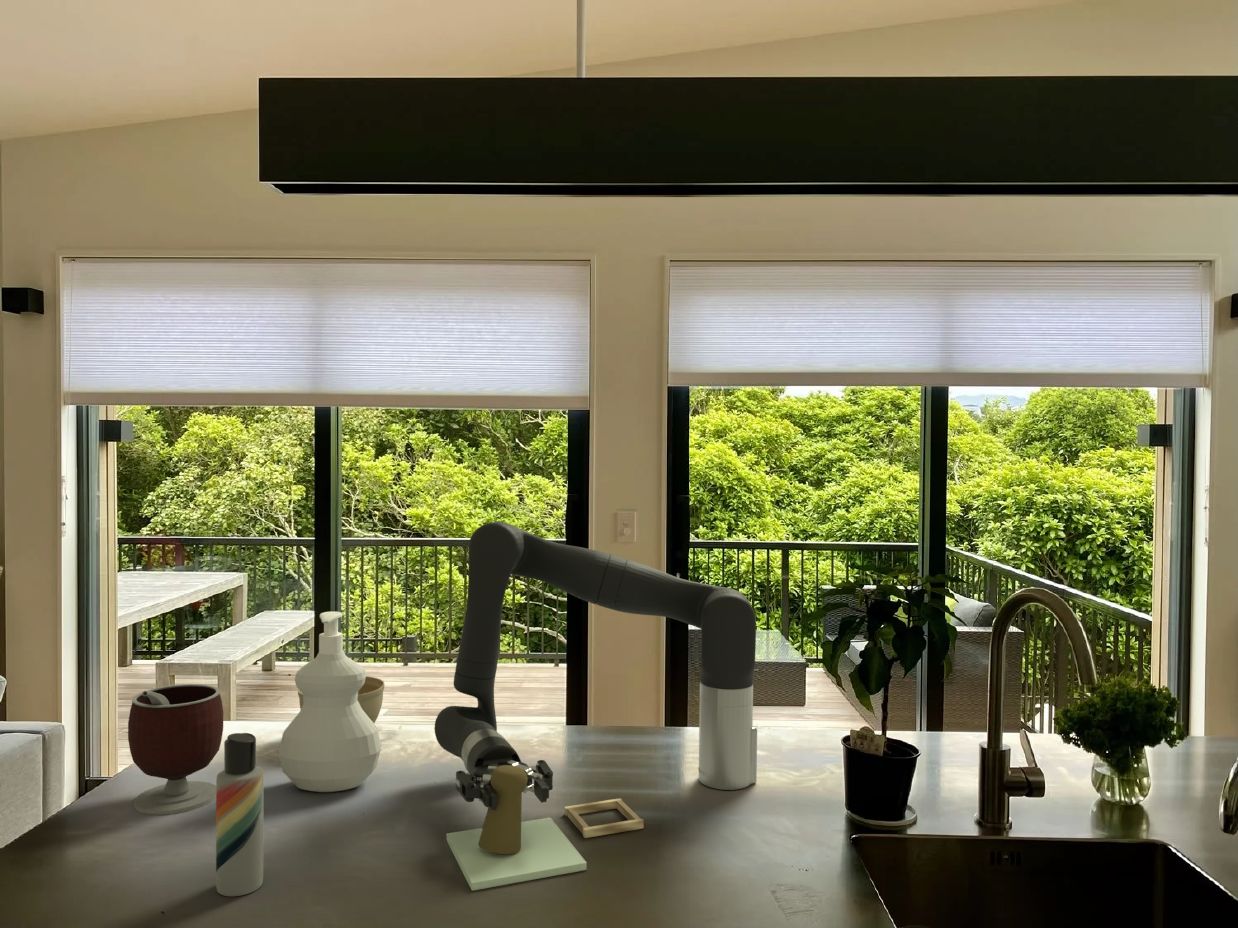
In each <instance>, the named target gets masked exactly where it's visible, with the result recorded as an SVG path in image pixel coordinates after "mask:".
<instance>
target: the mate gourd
mask: <svg viewBox="0 0 1238 928" xmlns="http://www.w3.org/2000/svg"><path fill="white" fill-rule="evenodd" d="M220 690H221V689H220V688H219V687H217V686H215V685H210V684H199V683H195V684H194V683H187V684H186V683H185V684H172V685H167V686H160V687H156V688H151V689H147V690H144V691H141V692H139V693H137V694H136V695H134V696H133V697H132V698H131V702H132V703H131V706H130V710H129V716H128V720H127V721H128V723H127V740H128V745H129V751H130V755H131V758H132V761H133V763H134V764H135V766H137V768H138V769H140V771H141V772H142V773H143V774H145V775H147V776H149V777H155V778H161V779H164V780H166V783H165V784H161V785H158V786H155V787H152V788H149V789H147V790H144V791H143V792H141V793H140V794H138V795H137V796H136V797H135V798H134V800H133V807H134V810H136V811H137V812H139V813H141V814H145V815H146V814H147V815H153V816H154V815H157V816H158V815H159V816H160V815H172V814H173V815H174V814H179V813H184V812H189V811H193V810H197V809H200V808H202V807H204V806H207V805H208V804H211V803H212V802H214V801H215V799H216V784H214V783H211V782H207V781H200V780H189V781H188V779H187V777H188V776H190V775H192V774H194V773H198V772H199V771H201V770H203V769H205V768H206V767H208V766H209V765H210V763H211V762H212V761H213V759H214V758H215V756H216V755H217V754H218V752H219V751H220V748H221V743H222V740H223V735H224V734H223V732H224V708H223V702H222V698H221V691H220Z"/></svg>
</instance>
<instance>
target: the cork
mask: <svg viewBox="0 0 1238 928" xmlns="http://www.w3.org/2000/svg"><path fill="white" fill-rule="evenodd" d="M527 780H528V779H527V774H526V772H525V770H523V769H522V768H520V767H516V766H511V765H502V766H499V767H496V768H495V769H494V771H493V772H492V775H491V786H492V788H493V790H494V792H495V793H496V796H497V809H496V810H491V809H490V808H489V807H487V810H486V814H485V817H484V822H483V826H482V828H483V829H482V832H481V836H480V839H479V843H478V845H479V847H480V848H482V849H483V850H485V851H488V852H492V853H497V854H512V853H516V852H518V851H520V849H521V822H522V805H523V804H522V803H523V802H522V799H523V798H522V794H523V791H524V790H525V787H526V785H527Z"/></svg>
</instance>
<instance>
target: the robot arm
mask: <svg viewBox="0 0 1238 928" xmlns="http://www.w3.org/2000/svg"><path fill="white" fill-rule="evenodd" d="M468 542H469V543H468V583H467V585H468V586H467V599H466V608H465V615H464V621H463V625H462V632H461V637H460V642H459V646H458V652H457V653H458V654H457V658H456V664H455V671H454V676H453V688H454V689H455V690H456V691H457V692H459V693H461V694H464V695H467V696H470V697H473V698H475V699H476V700H477V707H475V706H463V705H450V706H447V707H445V708H443V709H441V711H440V712H439V713H438V714H437V716H436V719H435V722H434V735H435V738H436V741H437V742H438V744H439V746H440V747H441V748H442V749H443V750H444V751H446V752H448V753H450V754H451V755H454V756H455V757H457V758H460V759H461V760H462V762H463V766H464V768H465V770H466V771H467V773H466V771H464V770H457V771H456V772H455V779H456V780H455V790H456V791H457V792H458V793H459V795H460V796H461V797H462V798H463V800H464V801H465V802H467V803H473V802H474V801H475V799H478V801H479V802H481V803H482V804H483V806H484V807H486V808H488V807H489V808H490V809H491V810H496V809H497V796H496V793H495V792H494V790H493V788H492V786H491V775H492V772H493V771H494V769H495V768H496V767H499V766H502V765H511V766H516V767H520V768H522V769H523V770H525V772H526V774H527V779H528V780H527V785H526V787H525V790H524V791H523V792H522V794H527V793H528V792H531V793H534V796H536V798H537V799H538V800H539V802H540V803H547V800H548V799H550V791H552V790H554V788H553V787H554V786H553V784H554V783H553V781H554V779H553V777H554V772H553V771H552V769H551V767H550V766H549V764H548V763H547V762H546V760H544V759H543V760H542V759H539V760H537V762H536V764H535V765H528V764H527V763H525V762H522V760H521V757H520V756H519V753H518V752H517V751H516V750H515V749H514V747H513V746H512V745H511V744H510V743H509V742H508V740H507V739H506V738H505V737H504V736H503V735H502V734H501V733H499V732H498V725H497V724H498V723H497V717H496V716H497V714H496V706H495V682H496V675H497V670H498V669H497V667H498V663H499V657H500V649H501V648H500V647H501V634H502V632H501V631H502V629H501V628H502V612H503V606H504V600H505V595H506V591H507V590H506V589H507V587H508V584H509V581H510V577H511V575H514V576H518V577H523V578H528V579H532V580H537V581H540V582H543V583H545V584H546V583H547V584H549V585H550V586H553V587H555V588H556V589H559V590H561V591H563V592H565V593H567V594H569V595H571V596H574V597H575V598H577V599H580V600H582V601H585V602H588V603H591V604H593V605H596V606H599V607H603V608H606V609H609V610H613V611H616V612H621V613H624V614H632V615H642V616H643V615H644V616H651V617H652V616H654V617H655V616H656V617H663V618H664V617H665V618H669V619H673V620H676V621H679V622H683V623H685V624H687V625H690V626H693V627H695V628H698V629H699V630H701V641H700V645H701V646H700V666H699V667H700V668H699V718H698V721H699V723H698V724H699V725H698V726H699V727H698V728H699V731H698V732H699V733H698V767H697V768H698V781H699V782H700V783H701V784H702V785H704V786H706V787H708V788H712V789H717V790H724V791H726V790H727V791H729V790H730V791H731V790H732V791H733V790H735V791H737V790H742V789H745V788H748V787H749V786H750V785H752V784H756V783H757V778H758V777H757V771H758V769H757V768H758V766H757V765H758V729H757V727H756V726H754V725H753V723H754V721H753V716H754V715H753V714H754V713H753V712H754V673H755V667H756V646H757V645H756V642H757V640H756V639H757V619H756V612H755V610H754V608H753V606H752V605H751V603H750V601H749V599H748V597H746V596H745V595H744V594H743V593H742V592H740V591H739V590H736V589H734V588H730V587H723V586H719V585H713V584H706V583H702V582H697V581H691V580H687V579H684V578H680V577H677V576H674V575H672V574H669V573H668V572H665V571H662V570H659V569H658V568H654V567H652V566H649V565H647V564H643V563H640V562H638V561H634V560H631V559H629V558H626V557H622V556H618V555H615V554H611V553H609V552H604V551H600V550H596V549H591V548H586V547H581V546H575V545H568V544H563V543H560V542H559V543H558V542H555V541H552V540H549V539H546V538H544V537H540V536H538V535H535V534H533V533H531V532H528V531H526V530H524V529H521V528H520V527H517V526H516V525H513V524H510V523H507V522H505V521H493V522H487V523H484V524H483V525H481V526H479V527H478V528H477V529H475V530H474V532H473V533H472V535H471V537H470V539H469V541H468Z"/></svg>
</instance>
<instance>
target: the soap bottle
mask: <svg viewBox="0 0 1238 928" xmlns="http://www.w3.org/2000/svg"><path fill="white" fill-rule="evenodd" d="M342 617H343V612H341V611H324V612H321V613H320V614H319V619H320V621H321V623H322V624H323V632H322V633H319V635H318V653H317V655H316V657H315V658H313V659H312V660H310V661H308V662H307V663H306V664H304V665H303V666H302V667H301V668H299V669H298V670H297V671H296V673H295V678H294V682H295V687H296V688H297V690H298V689H299V690H300V691H301V693H302V694H303V702H304V704H303V706H302V708H301V709H300V711H299V712H298V713H297V715H295V717H294V718H293V719H292V720H291V722H290V723H289V724H288V726H287V727H286V728H285V729H284V731H283V733H282V737H281V738H280V739H281V740H280V744H279V748H278V758H279V762H280V765H281V768H282V769H281V770H282V772H283V774H284V775H285V776H286V777H287V778H289V780H290V781H291V782H292V783H293V784H294V785H295V786H296V787H297V788H298V789H301V790H304V791H309V792H317V793H335V792H341V791H346V790H350V789H354V788H357V787H359V786H362V784H363V783H364V782H365V781H366V780H367V778H368V777H369V776H370V775H371V774H373V772H374V771H375V769H376V768H377V765H378V762H379V757H380V754H381V750H382V743H381V738H380V734H379V730H378V729H379V728H378V727H377V725H376V724H375V723H373V722H372V721H371V719H370V718H369V717H368V716H367V714H366V713H365V712H364V711H363V710H362V708H361V706H360V704H359V702H358V700H357V698H358V691H359V690H360V689H361V687H362V686H363V685H364V683H365V679H366V676H367V674H366V673H367V672H366V669H365V668H364V667H363V666H361V665H360V664H359V663H357V662H356V661H355V660H354V659H351V658H349V657H348V656H347V655H346V654H345V651H344V633H342V632H340V631H339V618H342Z"/></svg>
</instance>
